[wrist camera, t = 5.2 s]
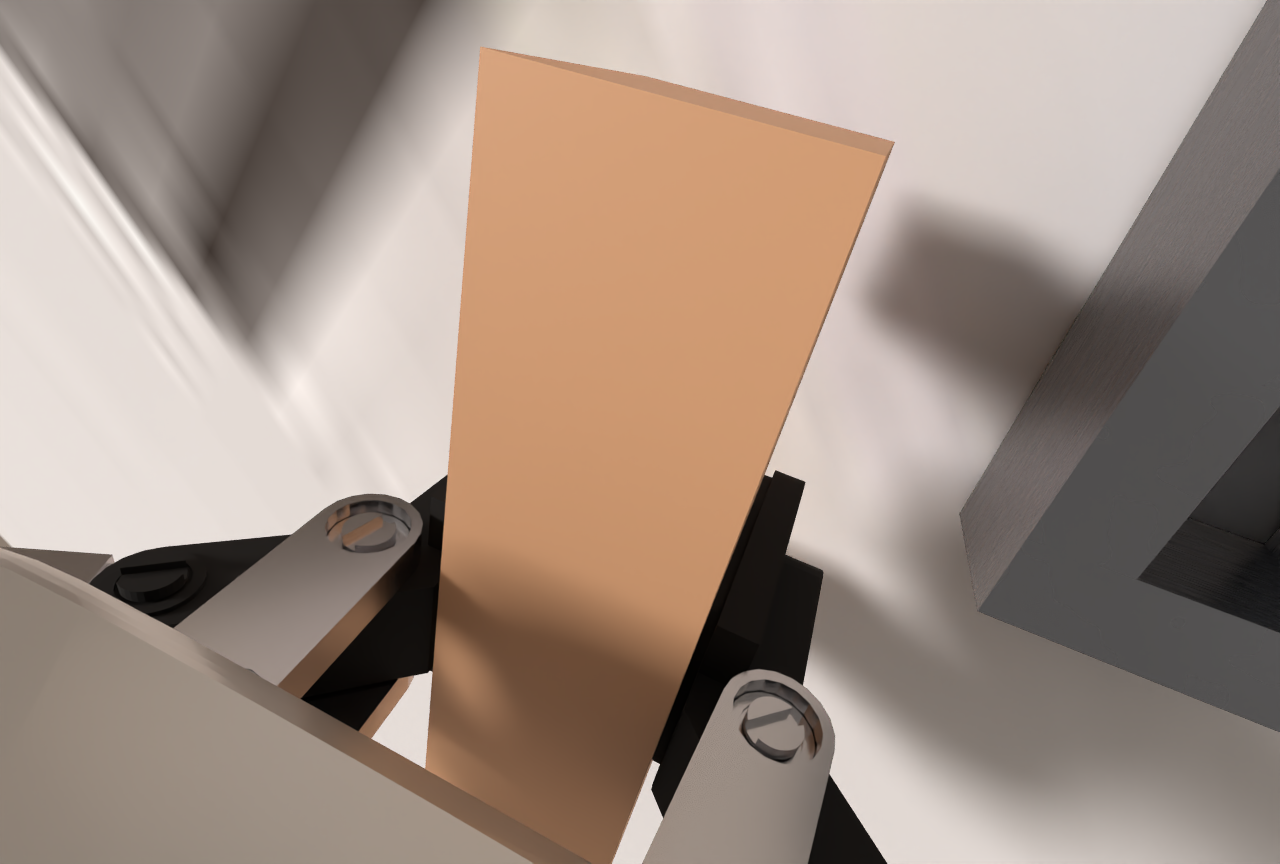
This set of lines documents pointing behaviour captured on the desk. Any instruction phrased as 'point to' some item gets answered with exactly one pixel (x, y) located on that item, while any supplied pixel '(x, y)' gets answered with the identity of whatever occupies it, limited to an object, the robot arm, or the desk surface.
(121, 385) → the desk surface
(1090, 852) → the desk surface
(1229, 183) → the dark gray slotted block
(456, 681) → the tan block
